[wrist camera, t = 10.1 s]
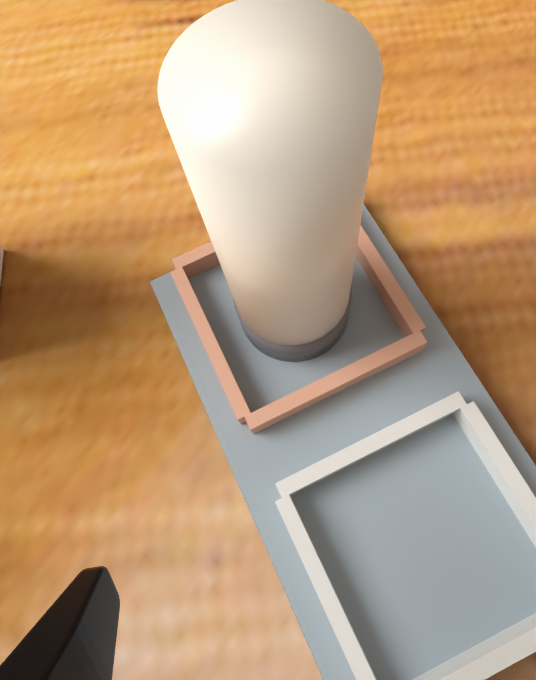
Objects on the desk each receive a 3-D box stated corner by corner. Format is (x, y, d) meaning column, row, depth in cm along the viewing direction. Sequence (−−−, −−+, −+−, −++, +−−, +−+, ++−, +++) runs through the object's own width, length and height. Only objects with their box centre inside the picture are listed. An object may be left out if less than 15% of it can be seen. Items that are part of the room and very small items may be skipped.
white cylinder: (372, 306, 23) (438, 60, 10) (295, 384, 22) (269, 218, 9) (292, 241, 24) (267, -41, 12) (217, 312, 23) (107, 87, 11)
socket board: (602, 589, 19) (641, 600, 17) (348, 728, 18) (352, 758, 16) (350, 201, 26) (354, 171, 24) (157, 291, 25) (141, 270, 23)
